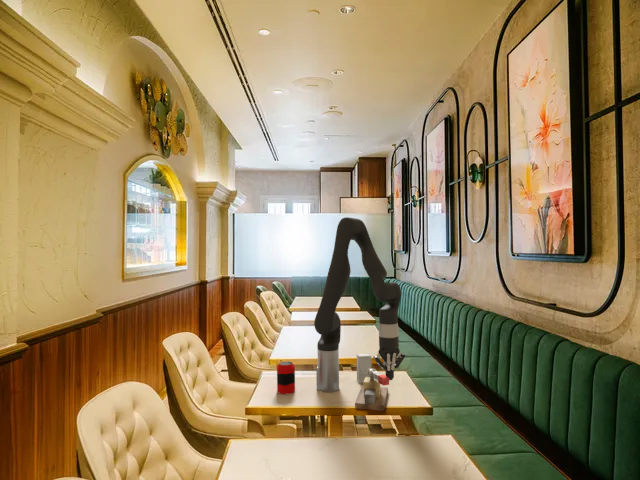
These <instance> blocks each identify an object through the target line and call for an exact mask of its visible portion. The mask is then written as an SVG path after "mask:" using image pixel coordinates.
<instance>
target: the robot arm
mask: <svg viewBox="0 0 640 480" xmlns="http://www.w3.org/2000/svg"><path fill="white" fill-rule="evenodd" d="M336 227H337V228H336V234H335V240H334V245H333V247H334V248H333V251H332V252H333V253H332V257H331V260H330V264H329V268H328V272H327V275H326V281H325V286H324V289H323V293H322V296H321V297H322V298H321V300H320V304H319V306H318V310H317V313H316V314H315V318H314V321H313V324H314V330H315V331H316V332H317V334H318V335H320V338H319V340H318V341H317V346H316V347H317V366H316V368H315V369H316V375H315V376H316V390H317V391H321V392H324V393H325V392H326V393H328V392H329V393H330V392H336V391H338V390H339V389H340V364H339V362H340V359H339V353H340V351H339V350H340V349H339V348H340V347H339V346H340V345H339V344H340V342H341V330H342V329H341V328H342V327H341V326H342V325H341V324H342V323H341V318H340V316H339V314H338V313H337V312H336V309H337V306H338V304H339V302H340V300H341V299H342V297H343V295H344V293H345V292H346V289H347V286H348V283H349V281H350V275H351V263H350V260H349V246H350V243H351V241H354V242H355V243H356V244H357V245H358V247H359V249H360V252H361V261H362V262H361V263H362V266H363V269H364V270H365V272H366V275H368V277H369V281H370V283H371V288H372V292H373V295H374V297H375V298H376V299H377V301H379V302H381V303H383V302H385V304H384V306H382V307H381V308H380V309H379V312H378V316H379V317H378V321H379V324H378V347H379V349H378V351H377V354H376V355H374V356H372V359H373V360H374V361H375V362H376V363H377V365H378V367H380V368H381V369H382V370H384V371H385V376H387V377H389V381H393V380H394V377H395V369H398V368H399V367H400V366H401V363H402V362H403V361H404V359H405V357H406V355H405V353H402V352H401V350H400V348H399V347H400V340H399V339H400V335H399V334H400V332H399V329H400V328H399V323H398V322H399V320H398V319H399V318H398V317H399V316H398V315H399V314H398V311H399V309H400V308H399V307H400V304H401V300H402V289H401V287H400V285H399V284H398V283H397V282H395V281H390V282H385V281H384V279H385V278H386V277H387V276H388V273H387V270H386V267H385V266H384V265H383V263H382V261H381V260H380V257H379V256H378V254H377V252H376V250H375V247H374V245H373V243H372V242H373V241H372V240H371V236H370V234H369V231H368V229H367V226H366V225H365V223H364V221H363V220H361V219H360V218H355V217H348V216H345V217H342V218H341V219H340V220H339V221H338V224H337V226H336ZM381 360H383V362H382V361H381Z"/></svg>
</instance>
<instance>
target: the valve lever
mask: <svg viewBox="0 0 640 480" xmlns="http://www.w3.org/2000/svg"><path fill="white" fill-rule="evenodd" d="M368 376H369V377H373V378H374V379H376V380H378V382H379V383H380V386H382V387H383V386H388V385H390V380H389V377H387V376H386V374H381V373H380V372H379V371H377V369H376V368H373V367H371V368H370V369H368Z"/></svg>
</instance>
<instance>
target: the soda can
mask: <svg viewBox="0 0 640 480" xmlns="http://www.w3.org/2000/svg"><path fill="white" fill-rule="evenodd" d="M295 370H296V368H295V365H294V363H293V361H281V362H279V363H278V365H277V366H276V381H277V382H276V385H277V386H276V388H277V389H276V392H277V393H279V394H281V395H291V394H293V393H294V392H295V391H296V371H295Z"/></svg>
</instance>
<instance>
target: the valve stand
mask: <svg viewBox="0 0 640 480" xmlns="http://www.w3.org/2000/svg"><path fill="white" fill-rule="evenodd" d="M388 394H389V388H388V387H386V386H385V387H383V386H382V387H381V384H380V383H379V382H378V380H376V379H374V378H373V377H365V380H364V383H363V385H361V387H360V389H359V391H358V395H357V396H356V397H357V398H356V399H355V402H354V408H355V409H360V410H361V409H362V410H373V411H385V408H386V407H385V406H386V404H385V403H387V400H388V399H387V398H388Z"/></svg>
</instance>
